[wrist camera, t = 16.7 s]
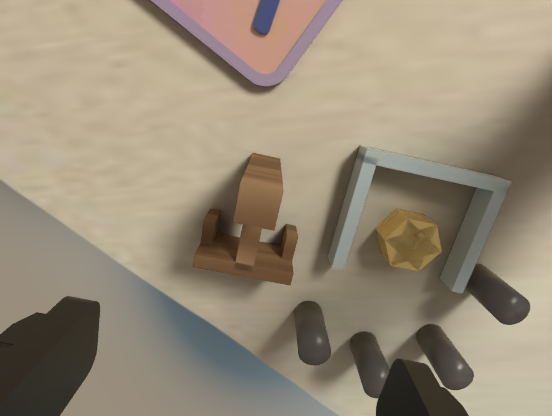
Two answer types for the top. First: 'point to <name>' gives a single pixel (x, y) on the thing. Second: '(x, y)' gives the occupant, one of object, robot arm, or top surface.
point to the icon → (254, 31)
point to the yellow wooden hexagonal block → (408, 240)
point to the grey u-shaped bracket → (484, 198)
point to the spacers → (430, 337)
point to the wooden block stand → (251, 229)
